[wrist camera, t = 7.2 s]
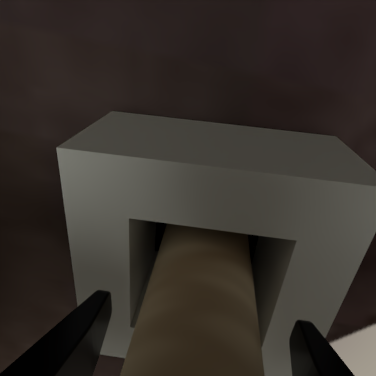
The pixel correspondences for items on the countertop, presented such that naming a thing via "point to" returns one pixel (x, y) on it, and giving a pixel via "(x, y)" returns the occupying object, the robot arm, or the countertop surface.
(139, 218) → the socket block
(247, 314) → the peg
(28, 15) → the countertop surface
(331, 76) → the countertop surface
